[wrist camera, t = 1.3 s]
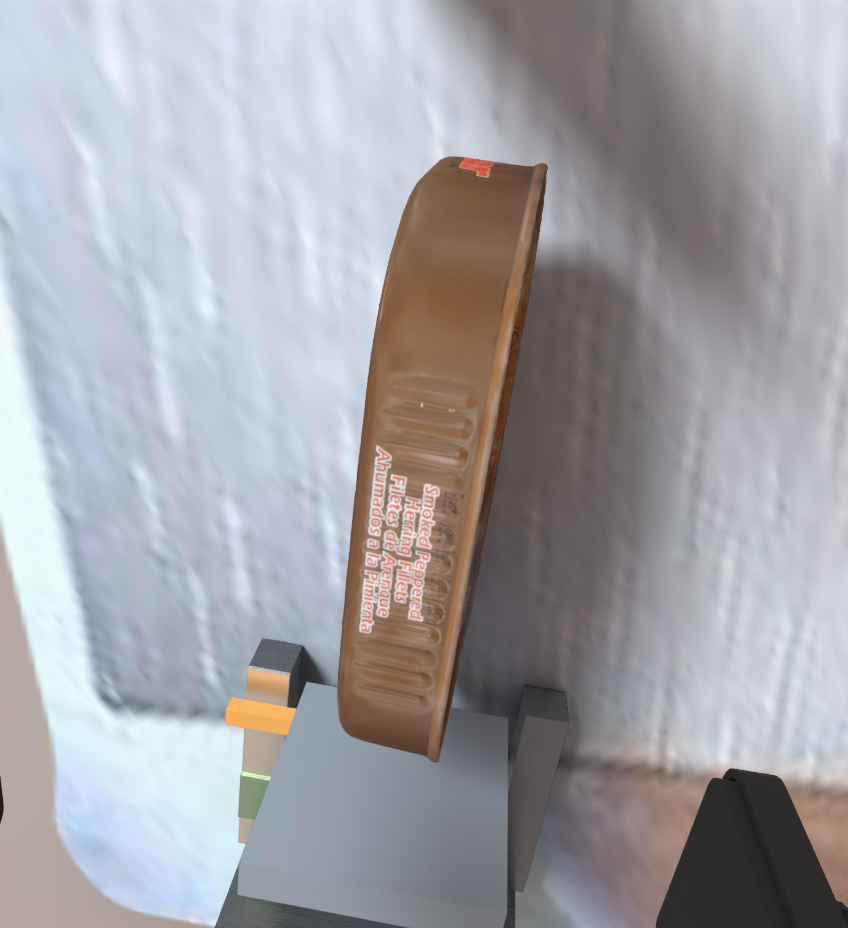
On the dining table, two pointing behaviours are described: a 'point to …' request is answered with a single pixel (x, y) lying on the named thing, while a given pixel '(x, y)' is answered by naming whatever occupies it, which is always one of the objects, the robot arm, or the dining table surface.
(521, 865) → the frame
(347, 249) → the dining table surface
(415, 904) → the gauge carriage
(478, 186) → the tin
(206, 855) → the dining table surface
